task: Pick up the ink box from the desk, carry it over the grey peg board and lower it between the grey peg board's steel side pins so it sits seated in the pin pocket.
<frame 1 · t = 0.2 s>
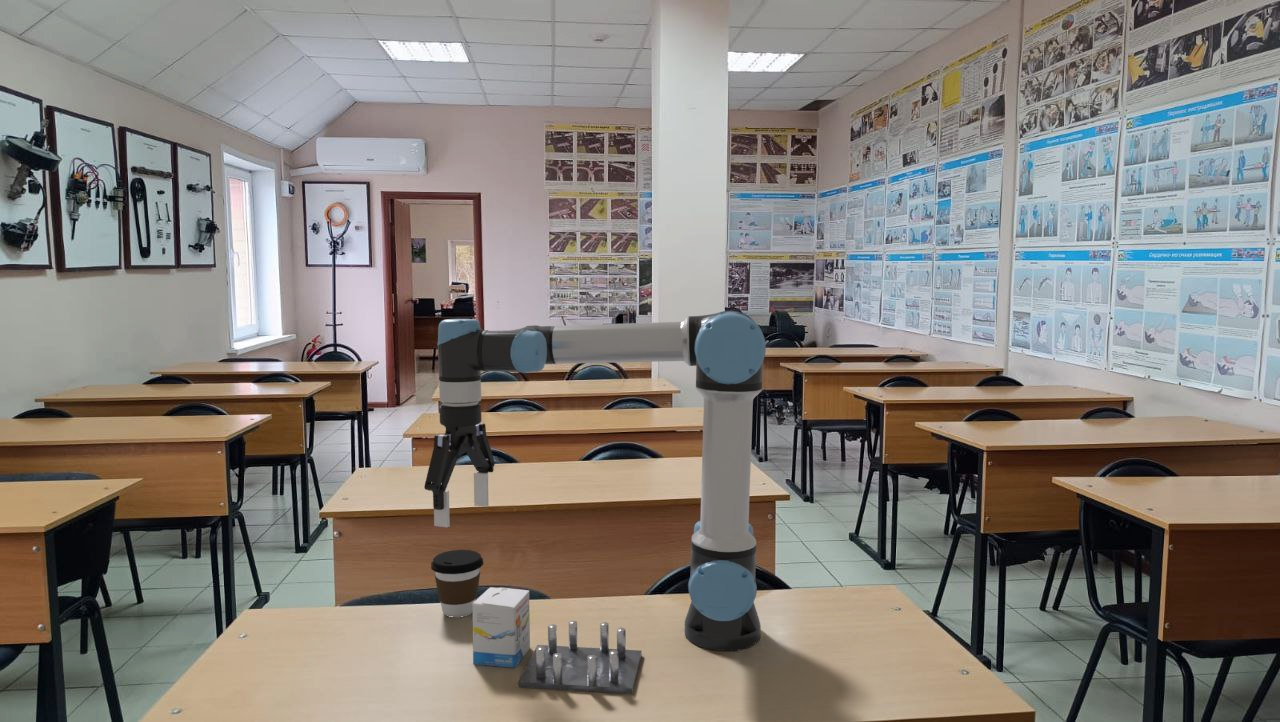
hand: (462, 515, 146), 27 cm above the table, fingers open, 13 cm apart
grey peg board: (582, 670, 142), on the table
coffee cup: (458, 613, 167), on the table
ink box: (502, 656, 148), on the table
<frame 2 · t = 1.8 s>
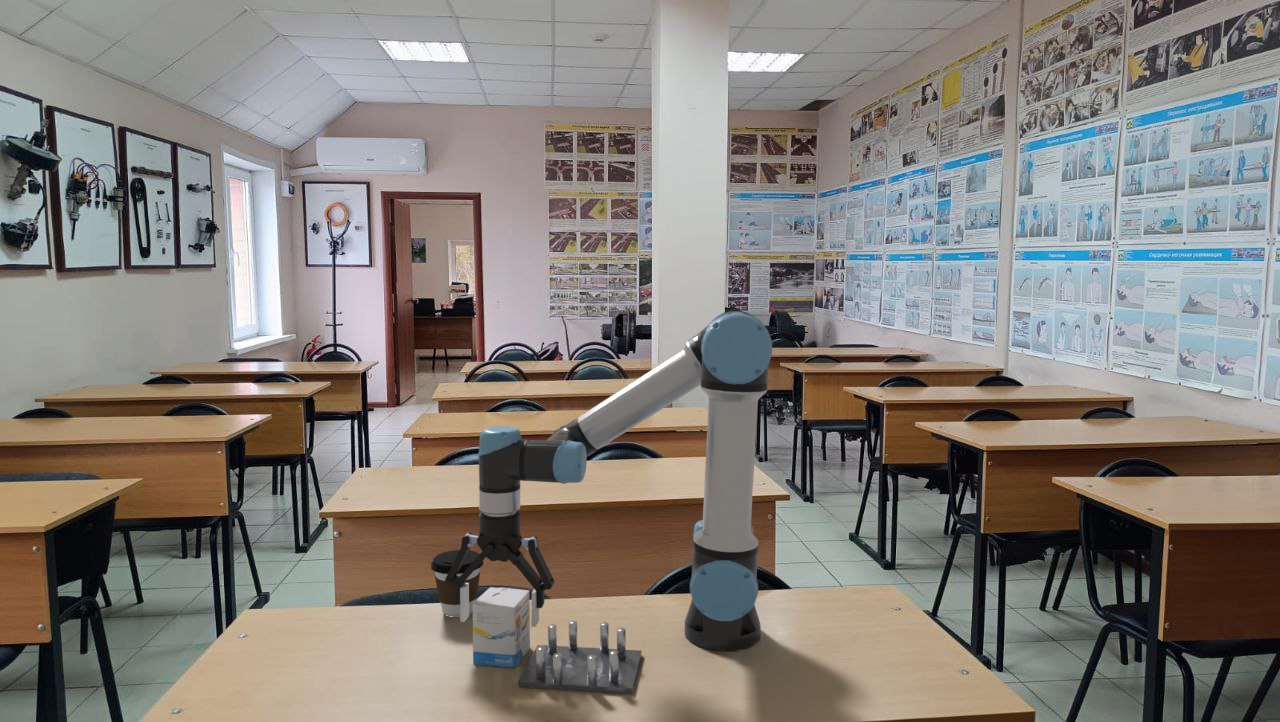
hand: (499, 621, 147), 7 cm above the table, fingers open, 13 cm apart
nothing on the table moved.
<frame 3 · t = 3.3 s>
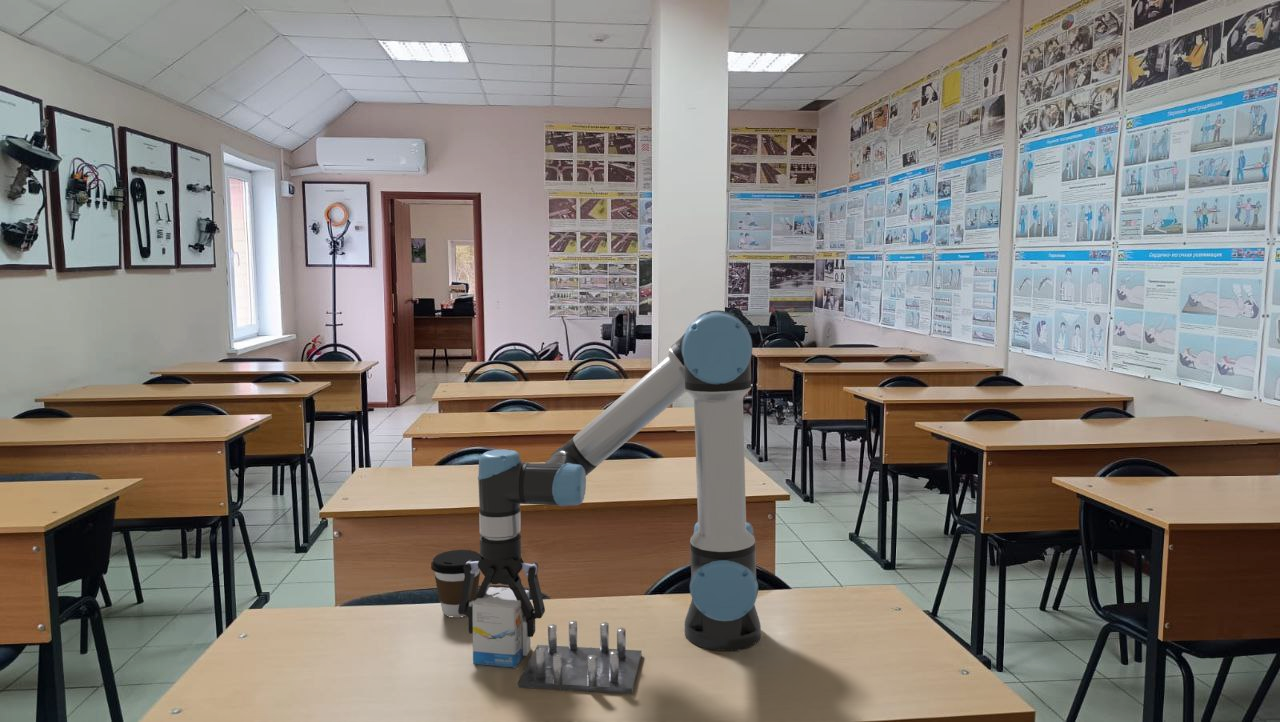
hand: (502, 650, 147), 1 cm above the table, fingers closed on ink box, 9 cm apart
ink box: (502, 656, 148), on the table, touching gripper
everything else where it was.
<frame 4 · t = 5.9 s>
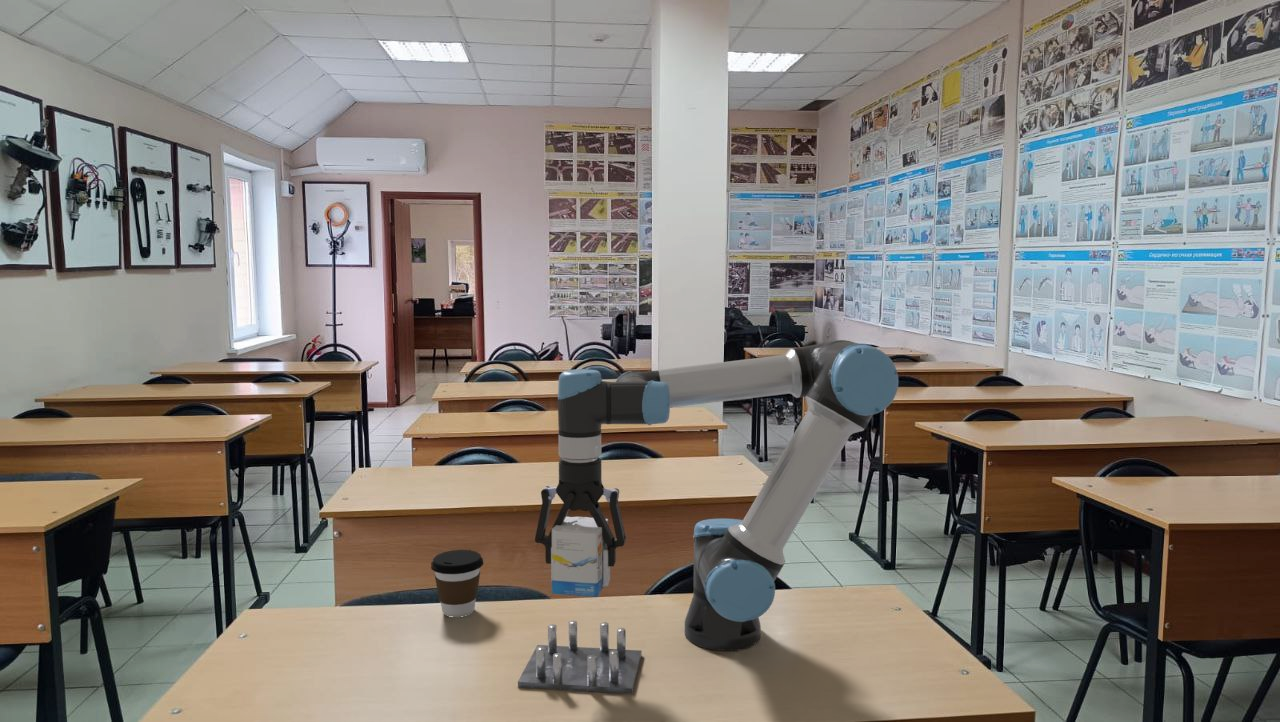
hand: (580, 581, 140), 17 cm above the table, fingers closed on ink box, 9 cm apart
ink box: (580, 588, 140), point 15 cm above the table, touching gripper
everything else where it was.
when the fingers open (4 cm above the table, at t = 8.4 s): ink box drops 2 cm, point 1 cm above the table.
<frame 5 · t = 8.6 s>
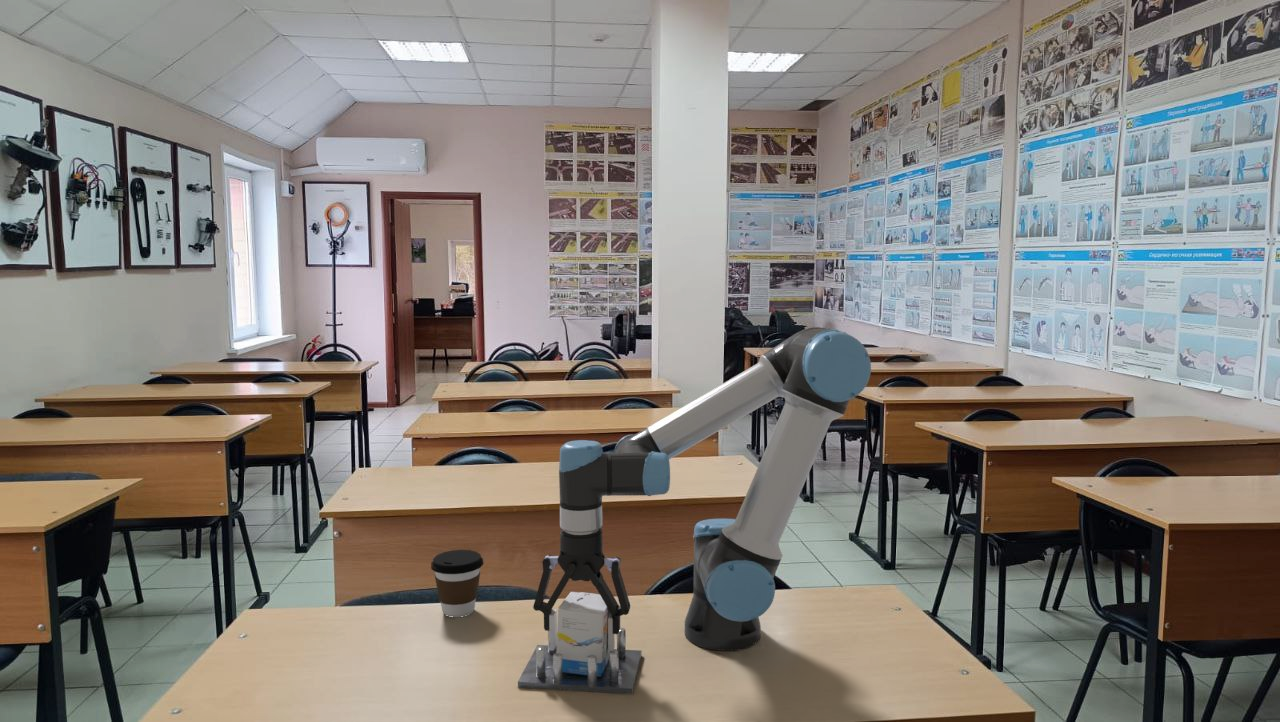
hand: (582, 648, 141), 4 cm above the table, fingers open, 10 cm apart
ink box: (583, 664, 142), point 1 cm above the table, touching gripper
everything else where it was.
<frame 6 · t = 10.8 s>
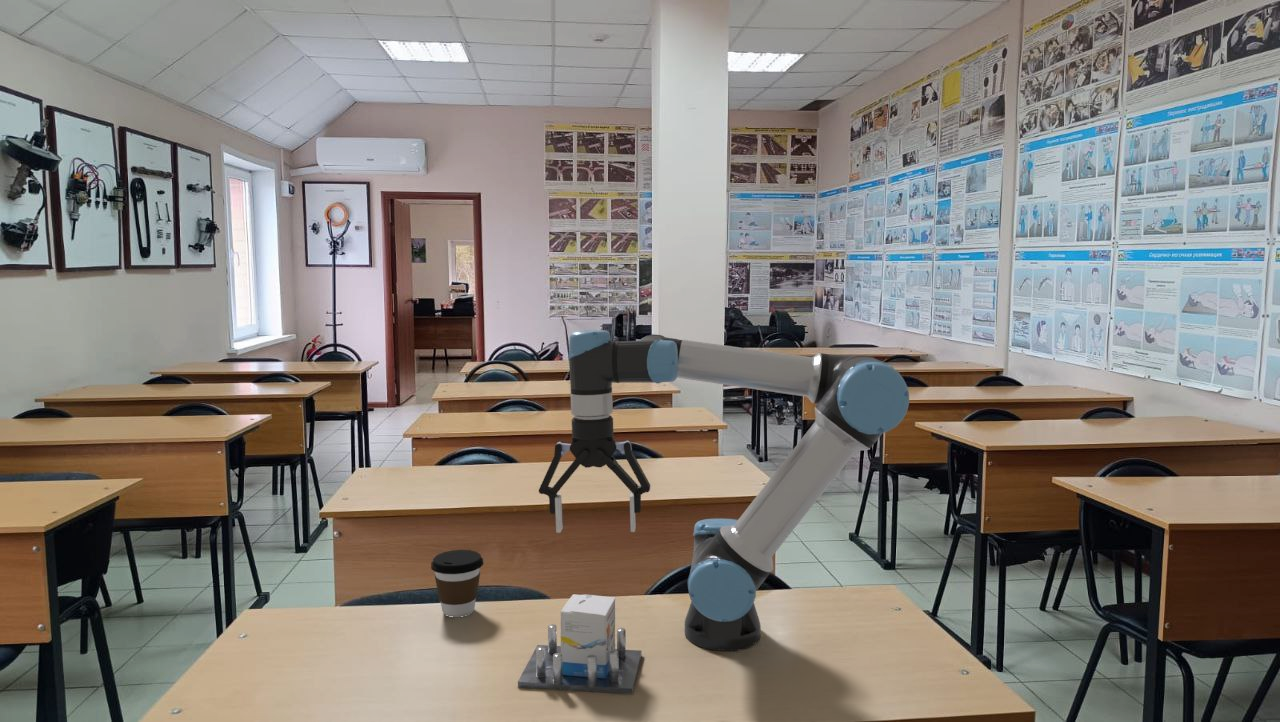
hand: (596, 530, 144), 25 cm above the table, fingers open, 13 cm apart
ink box: (588, 666, 142), point 1 cm above the table, touching grey peg board
everything else where it was.
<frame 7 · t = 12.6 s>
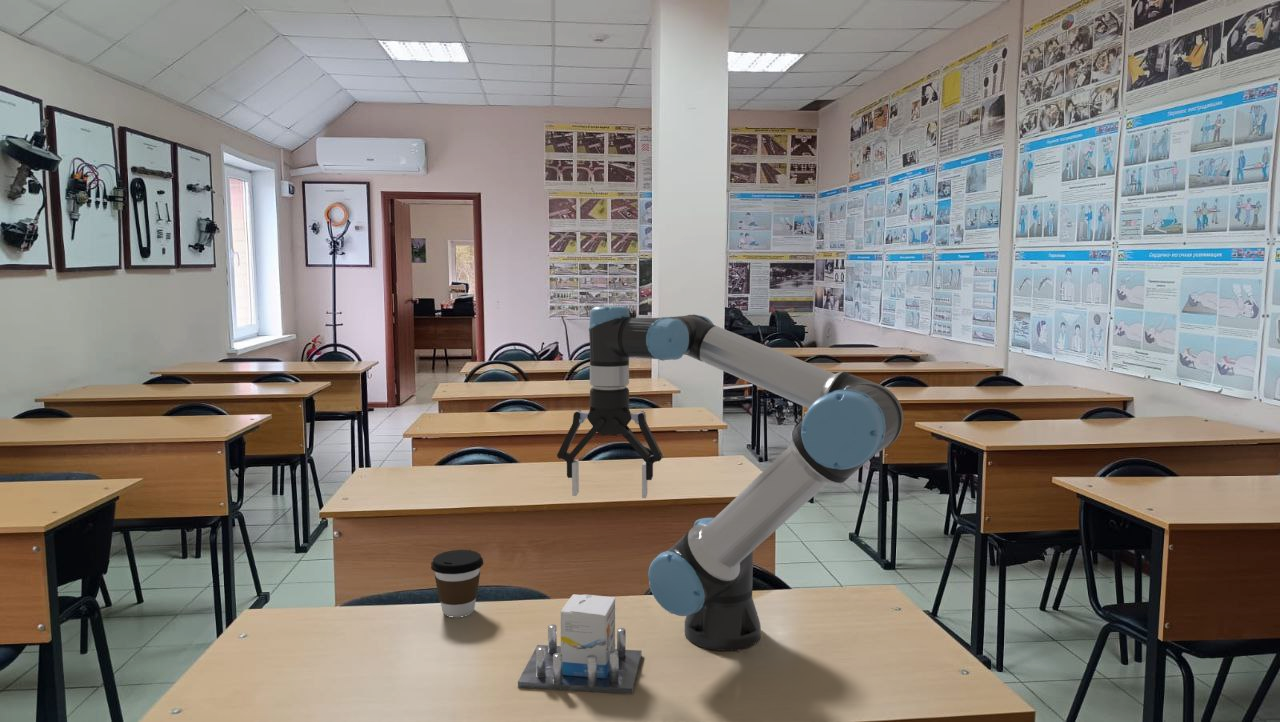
hand: (609, 495, 152), 29 cm above the table, fingers open, 13 cm apart
nothing on the table moved.
at the end: ink box 1.2 cm off-centre on the grey peg board, point 0.8 cm above the grey peg board's base; ink box tilted 0°; the gripper is holding nothing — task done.
